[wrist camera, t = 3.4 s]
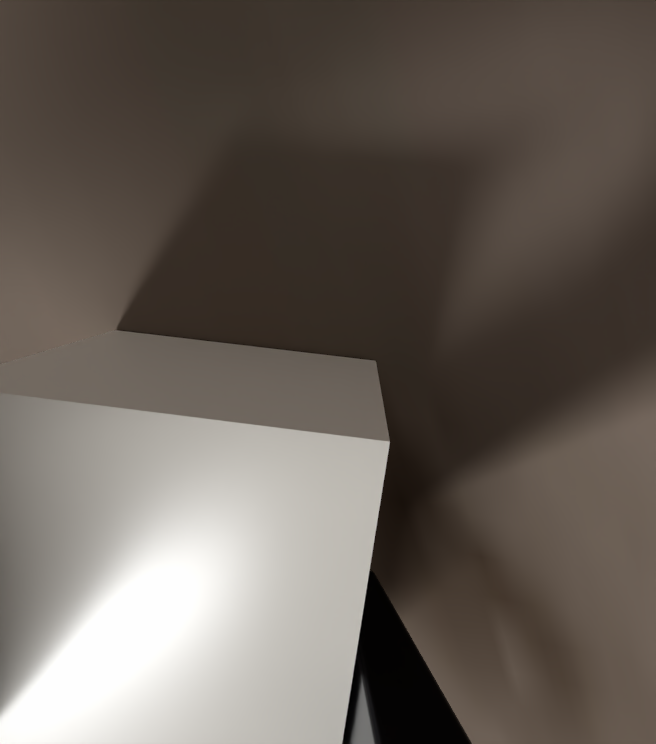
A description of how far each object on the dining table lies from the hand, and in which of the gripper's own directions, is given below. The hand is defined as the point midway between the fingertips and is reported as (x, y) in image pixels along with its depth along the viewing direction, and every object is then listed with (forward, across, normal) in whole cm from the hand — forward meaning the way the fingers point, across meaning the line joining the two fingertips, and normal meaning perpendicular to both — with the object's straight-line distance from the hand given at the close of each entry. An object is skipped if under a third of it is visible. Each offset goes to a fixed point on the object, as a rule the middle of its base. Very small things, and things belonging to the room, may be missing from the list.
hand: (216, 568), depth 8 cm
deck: (+1, 0, 0) cm, 1 cm away
